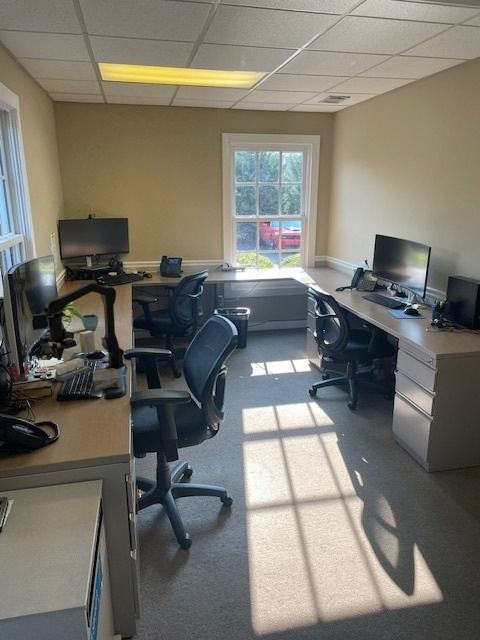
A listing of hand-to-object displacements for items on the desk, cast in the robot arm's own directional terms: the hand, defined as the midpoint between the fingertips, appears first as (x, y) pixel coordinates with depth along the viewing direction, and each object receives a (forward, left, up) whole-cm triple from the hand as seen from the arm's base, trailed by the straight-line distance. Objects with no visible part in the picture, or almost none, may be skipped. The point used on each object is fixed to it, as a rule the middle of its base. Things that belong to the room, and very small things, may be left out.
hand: (59, 360), depth 210 cm
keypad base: (0, -5, -8) cm, 10 cm away
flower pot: (+57, -71, -9) cm, 91 cm away
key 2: (0, -5, -6) cm, 8 cm away
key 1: (0, -10, -6) cm, 12 cm away
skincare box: (+17, -32, -9) cm, 37 cm away
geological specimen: (-25, -4, -9) cm, 27 cm away
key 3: (0, 0, -6) cm, 6 cm away
